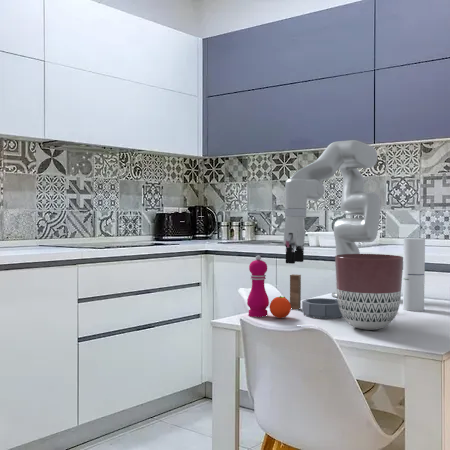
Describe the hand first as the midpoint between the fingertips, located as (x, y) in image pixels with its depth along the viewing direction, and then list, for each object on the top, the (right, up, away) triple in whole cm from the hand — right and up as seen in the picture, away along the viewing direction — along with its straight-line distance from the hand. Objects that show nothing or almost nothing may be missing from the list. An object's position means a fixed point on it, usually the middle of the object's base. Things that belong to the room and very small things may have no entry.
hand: (294, 262), depth 205 cm
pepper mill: (-14, -17, -13) cm, 25 cm away
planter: (+18, -18, -33) cm, 41 cm away
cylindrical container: (+42, -17, 0) cm, 45 cm away
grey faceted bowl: (+8, -17, -11) cm, 21 cm away
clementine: (-6, -17, -16) cm, 24 cm away
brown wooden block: (0, -16, +1) cm, 16 cm away
